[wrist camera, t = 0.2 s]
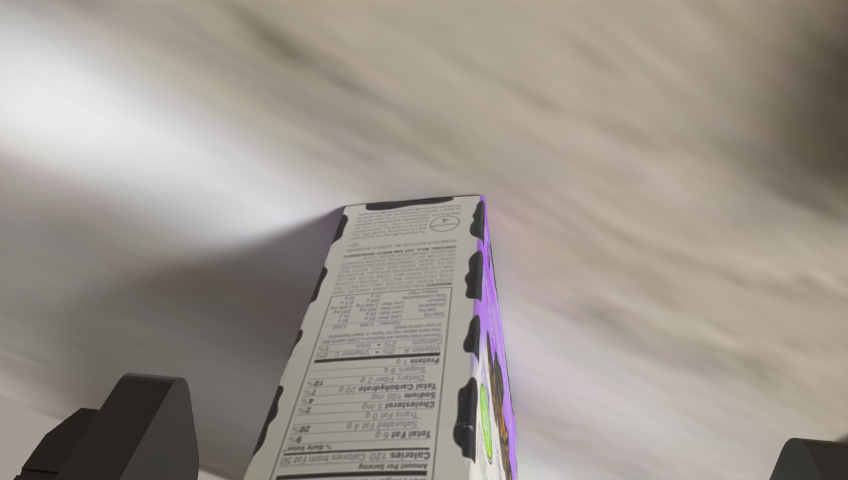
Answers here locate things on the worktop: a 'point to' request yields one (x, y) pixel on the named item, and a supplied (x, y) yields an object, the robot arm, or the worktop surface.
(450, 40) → the worktop surface
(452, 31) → the worktop surface
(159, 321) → the worktop surface
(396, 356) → the candy box
